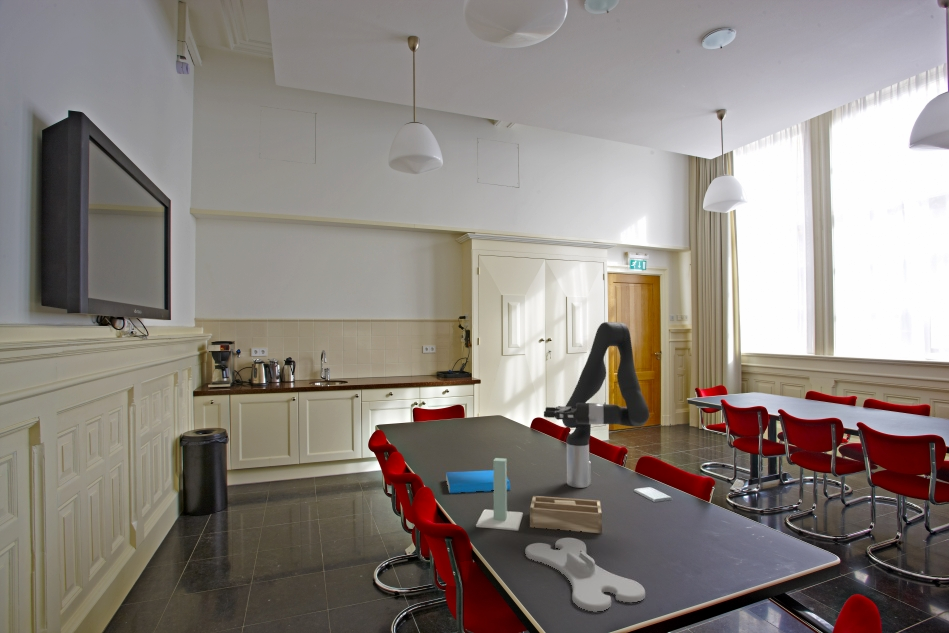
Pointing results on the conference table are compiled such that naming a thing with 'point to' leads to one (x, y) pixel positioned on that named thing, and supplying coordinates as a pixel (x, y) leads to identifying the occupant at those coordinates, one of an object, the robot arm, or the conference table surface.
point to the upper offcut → (564, 502)
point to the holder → (585, 575)
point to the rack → (566, 514)
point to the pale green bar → (500, 488)
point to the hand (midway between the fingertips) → (544, 412)
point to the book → (471, 481)
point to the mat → (509, 524)
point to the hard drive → (652, 494)
